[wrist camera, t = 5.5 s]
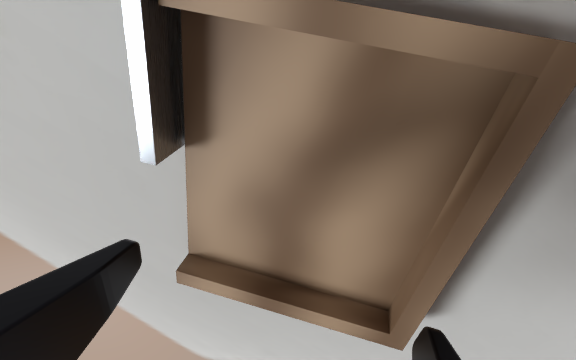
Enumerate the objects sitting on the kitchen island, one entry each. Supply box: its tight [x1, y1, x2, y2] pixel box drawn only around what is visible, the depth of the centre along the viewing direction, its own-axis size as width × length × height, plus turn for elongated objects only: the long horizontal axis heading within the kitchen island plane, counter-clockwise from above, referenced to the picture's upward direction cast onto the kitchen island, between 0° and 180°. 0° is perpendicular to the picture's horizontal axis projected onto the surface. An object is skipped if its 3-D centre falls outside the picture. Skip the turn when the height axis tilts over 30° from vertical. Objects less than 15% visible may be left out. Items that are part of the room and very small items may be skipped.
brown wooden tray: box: [158, 0, 576, 351], centre depth 13 cm, size 13×15×2 cm
